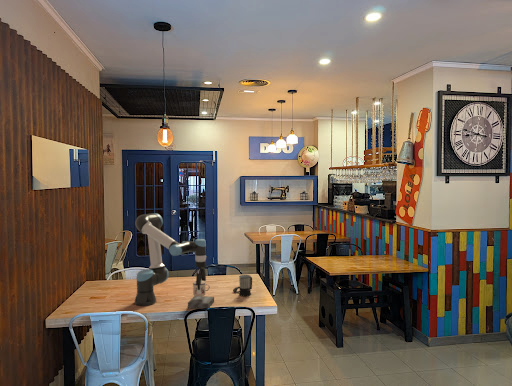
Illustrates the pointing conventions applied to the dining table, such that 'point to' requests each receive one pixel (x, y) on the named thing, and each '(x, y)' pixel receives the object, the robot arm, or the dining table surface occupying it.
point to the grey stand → (201, 302)
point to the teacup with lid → (201, 288)
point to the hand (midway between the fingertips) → (201, 291)
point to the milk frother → (244, 285)
